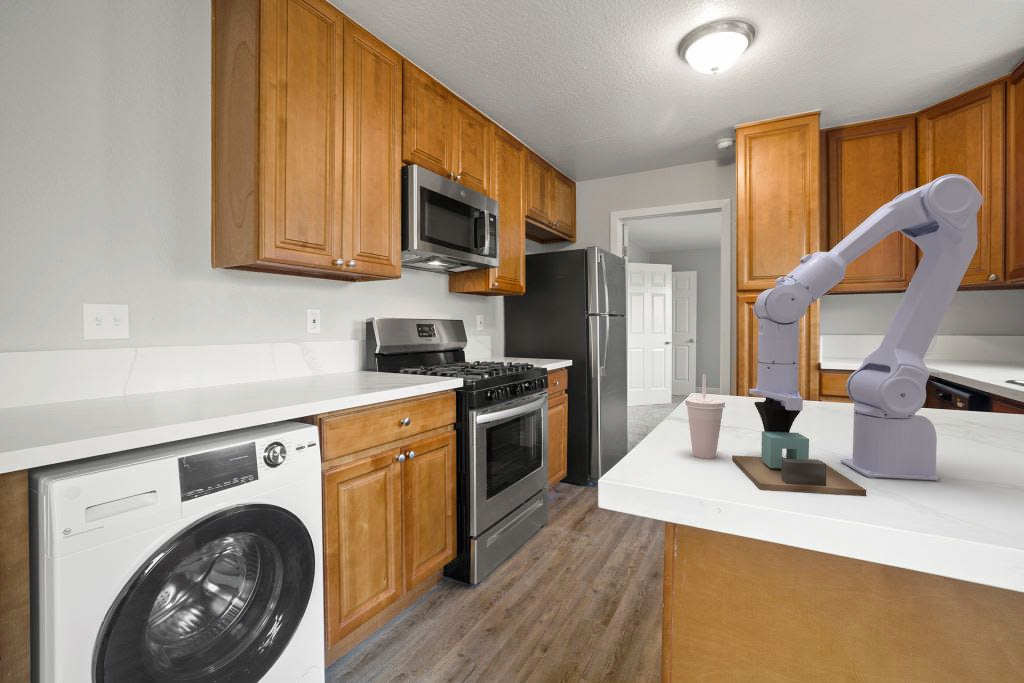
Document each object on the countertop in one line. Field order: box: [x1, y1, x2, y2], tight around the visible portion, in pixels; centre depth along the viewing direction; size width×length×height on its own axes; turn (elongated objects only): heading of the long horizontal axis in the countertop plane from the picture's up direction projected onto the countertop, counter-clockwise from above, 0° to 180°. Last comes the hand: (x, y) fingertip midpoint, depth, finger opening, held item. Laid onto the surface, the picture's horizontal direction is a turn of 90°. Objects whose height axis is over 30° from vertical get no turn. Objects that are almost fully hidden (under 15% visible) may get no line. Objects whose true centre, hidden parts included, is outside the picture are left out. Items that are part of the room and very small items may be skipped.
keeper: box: [760, 430, 810, 468], centre depth 71 cm, size 5×4×5 cm
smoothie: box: [684, 374, 726, 460], centre depth 80 cm, size 6×6×14 cm
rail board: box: [731, 454, 867, 497], centre depth 70 cm, size 13×14×4 cm
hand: (776, 447), depth 75 cm, fingers closed
